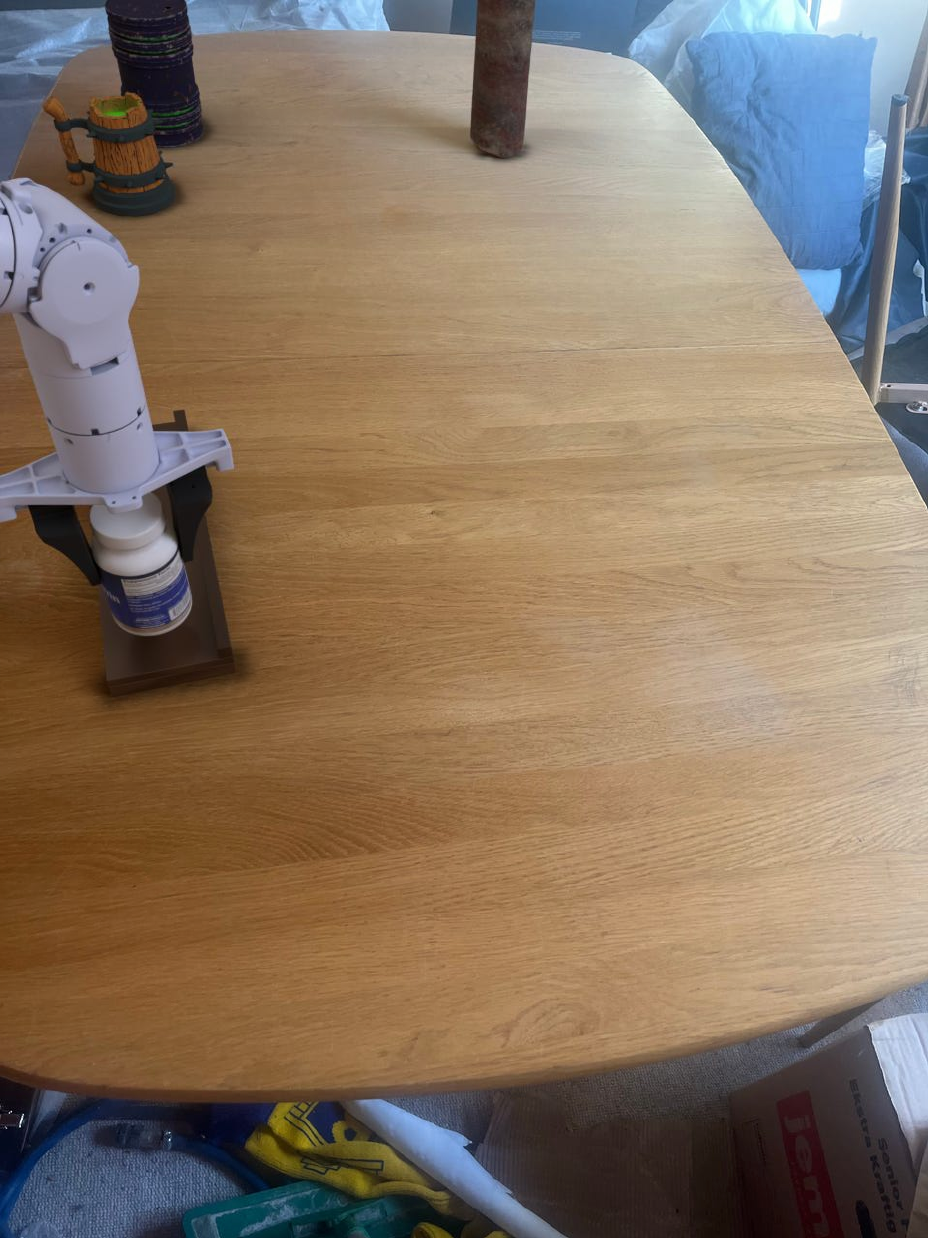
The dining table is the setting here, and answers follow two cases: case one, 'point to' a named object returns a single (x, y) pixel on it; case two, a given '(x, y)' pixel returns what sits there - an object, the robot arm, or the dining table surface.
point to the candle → (501, 75)
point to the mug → (118, 155)
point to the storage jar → (158, 64)
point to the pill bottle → (141, 567)
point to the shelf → (187, 647)
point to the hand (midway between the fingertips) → (139, 563)
